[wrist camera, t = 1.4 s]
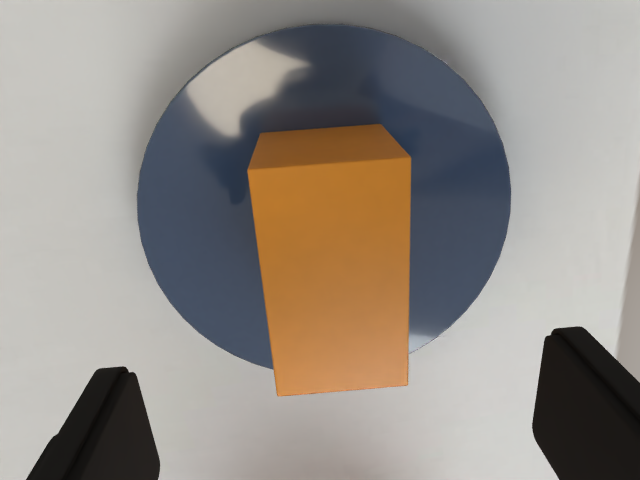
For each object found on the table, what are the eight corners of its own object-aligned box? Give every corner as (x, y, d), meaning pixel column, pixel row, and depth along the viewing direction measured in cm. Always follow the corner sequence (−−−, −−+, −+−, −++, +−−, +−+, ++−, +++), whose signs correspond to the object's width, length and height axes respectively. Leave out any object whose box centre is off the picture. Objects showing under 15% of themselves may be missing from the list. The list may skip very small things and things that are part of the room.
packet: (259, 132, 17) (247, 169, 13) (381, 123, 17) (411, 156, 13) (281, 315, 21) (277, 397, 16) (383, 307, 21) (408, 386, 16)
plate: (107, 39, 17) (91, 39, 16) (514, 9, 17) (532, 8, 16) (183, 367, 23) (176, 388, 22) (483, 342, 24) (495, 361, 22)
